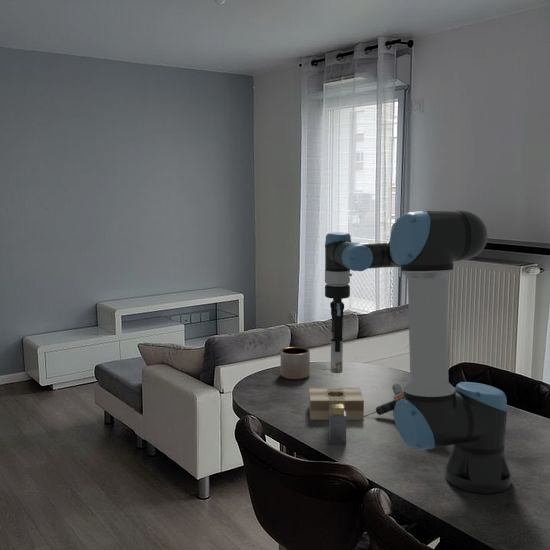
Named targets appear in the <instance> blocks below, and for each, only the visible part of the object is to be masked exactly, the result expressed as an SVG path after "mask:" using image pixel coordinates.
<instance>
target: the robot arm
mask: <svg viewBox="0 0 550 550" xmlns="http://www.w3.org/2000/svg"><path fill="white" fill-rule="evenodd" d="M487 243H488V228H487V227H486V224H485V223H484V221H483V220H482V219H481V218H480V217H479V216H478V215H477V214H475V213H473V212H470V211H467V210H462V209H461V210H460V209H459V210H458V209H457V210H420V211H418V210H417V211H409V212H407V213H403V214H401V216H400V217H399V218H397V220H396V221H395V223H394V225H393V227H392V229H391V233H390V239H389V240H388V241H368V242H352V239H351V234H350V233H349V232H341V231H340V232H329V233H327V234H326V235H325V243H324V248H325V249H324V252H325V253H324V259H325V260H324V263H325V265H324V266H325V268H324V283H325V286H324V296H325V297H326V298H328V299H332V301H330V303H329V304H330V305H329V306H330V315H331V330H330V332H331V334H332V333H333V339H332V338H330V342H332V341H333V362H342V343H343V340H344V337H343V327H344V326H343V321H344V310H345V303H344V302H343V299H349V297H350V296H351V285H350V283H351V277H352V276H353V273H351V271H353V272H363V271H366V270H368V269H379V268H383V269H384V268H400V272H401V273H402V274H403V275H404V276H405V278H407V293H408V294H407V295H408V297H407V298H408V336H409V337H408V341H409V343H408V345H409V349H408V350H409V378H410V379H409V382H408V383H407V384H406V385H404V387H403V392H404V399H400V400H399V401H397V402H396V405H395V407H394V410H393V417H394V423H395V426H396V429H397V431H398V433H399V435H400V437H401V439H402V440H403V442H404V443H405V444H406V445H407V446H408V447H410V449H413V450H419V451H420V450H433V449H434V448H441V447H447V446H452V445H453V446H452V449H451V451H450V454H449V456H448V459H447V462H446V464H445V471H444V473H445V474H444V477H445V479H446V481H448V482H449V483H450V485H452V486H454V487H456V488H458V489H461V490H463V491H467V492H471V493H475V494H484V495H485V494H488V495H489V494H497V493H502V492H504V491H507V490H508V489H509V488H510V487H511V484H512V472H511V469H510V465H509V463H508V459H507V456H506V452H505V451H506V449H505V448H506V445H505V444H506V429H507V428H506V427H507V413H508V408H507V407H508V406H507V399H508V398H507V396H506V394H505V392H504V391H503V390H501V389H499V388H497V387H494V386H492V385H489V384H484V383H478V382H471V381H460V382H458V383H457V384H456V385H455V387H454V386H453V385H452V384H451V383H450V382H449V343H448V342H449V340H448V338H449V336H448V335H449V334H448V289H447V286H448V284H447V283H448V282H447V280H448V276H450V275H451V273H453V271H454V262H460V261H461V262H462V261H467V260H470V259H472V258H475V257H476V256H478V255H479V254H481V252H483V250H484V248H485V247H486V245H487Z"/></svg>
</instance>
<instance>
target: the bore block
mask: <svg viewBox="0 0 550 550" xmlns="http://www.w3.org/2000/svg"><path fill="white" fill-rule="evenodd" d="M308 394H309V395H308V406H309V407H308V408H309V409H308V410H309V418H310V420H311V421H315V420H316V421H318V420H319V421H321V420H322V421H323V420H325V421H326V420H327V421H329V410H332V404H343V406H344V410H345V412H346V421H364V418H365V417H364V416H365V414H364V412H365V411H364V410H365V408H364V407H365V399H364V396H363V394H362V391H361V388H360V387H309V388H308Z"/></svg>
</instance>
